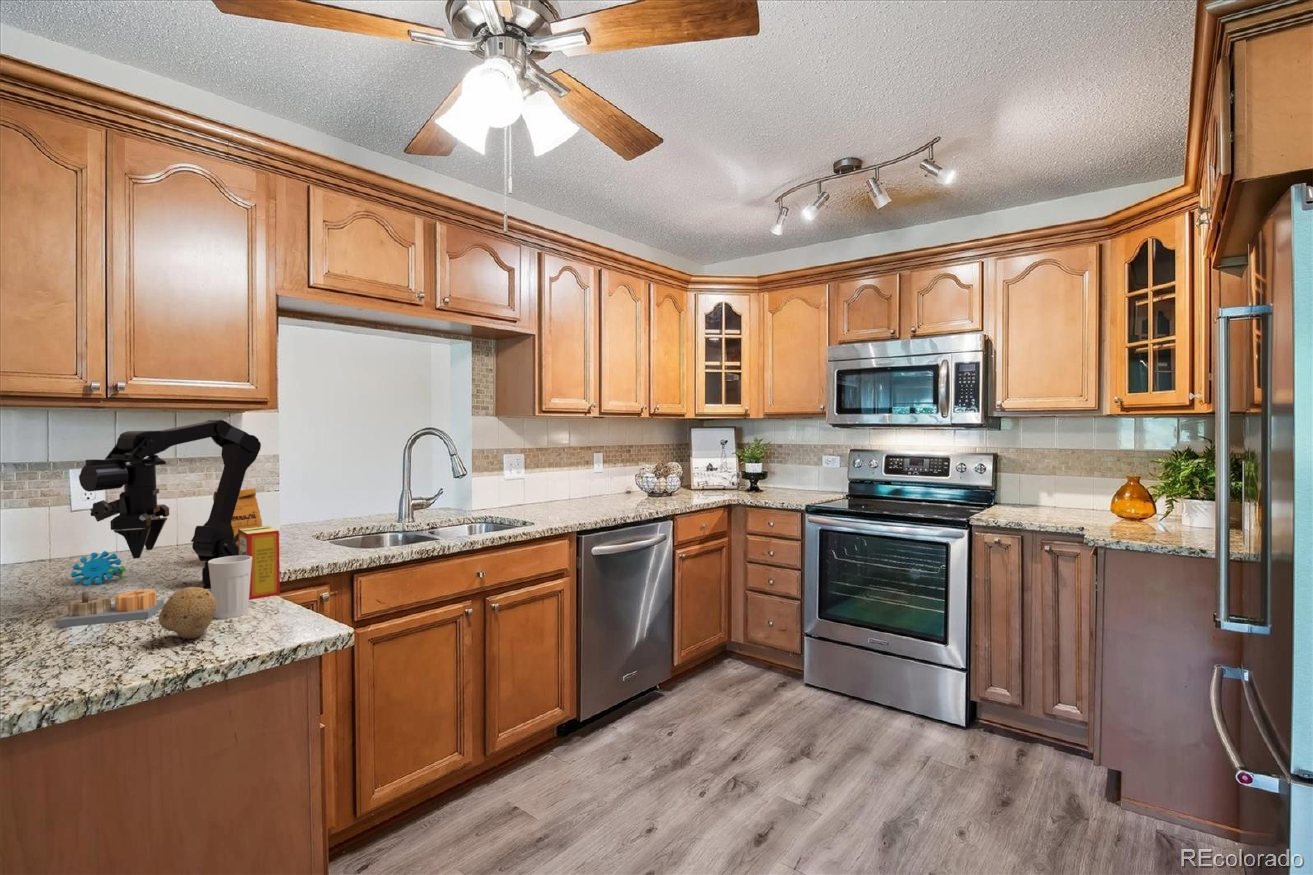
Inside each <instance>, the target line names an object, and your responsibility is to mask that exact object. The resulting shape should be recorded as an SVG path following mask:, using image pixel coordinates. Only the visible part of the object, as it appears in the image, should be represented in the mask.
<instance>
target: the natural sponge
mask: <svg viewBox="0 0 1313 875" xmlns="http://www.w3.org/2000/svg"><path fill="white" fill-rule="evenodd" d="M216 605H217V603H216V599H215V597H214V595H213V594H212V592H211V591H209V590H208V589H207V588H203V587H200V586H199V587H198V586H188V587H184V588H181V589H179V590H177V591H175V592H174V593H173V594H172V595H170V597H169V598H168V599H167V601H166V602H164V606H163V607H162V608H161V611H160V612H159V614H158V623H159V625H160V626H161V627H162V628H163V629H165V630H167V631H171V632H174V633H176V634H178V635H179V636H180V637H181V638H182V637H183V638H184V639H196V638H199V636H201V635H202V634H203V633H204V632H206V630H207V629H208V627H209V626H210V625H211V623H212V621H213V620H214V619H215V618H214V615H215V611H216Z"/></svg>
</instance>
